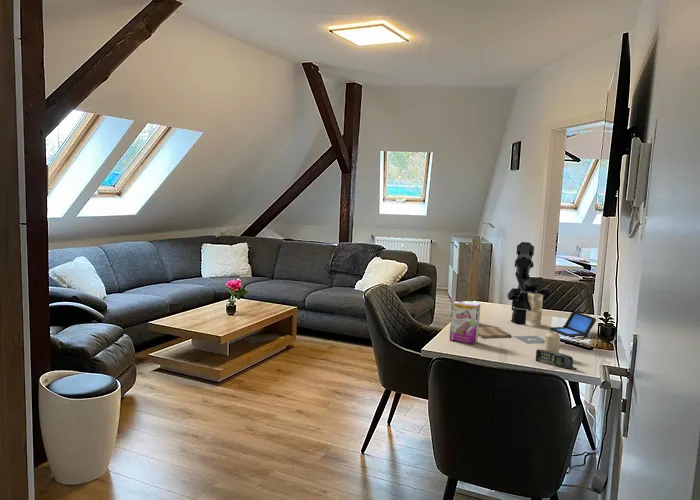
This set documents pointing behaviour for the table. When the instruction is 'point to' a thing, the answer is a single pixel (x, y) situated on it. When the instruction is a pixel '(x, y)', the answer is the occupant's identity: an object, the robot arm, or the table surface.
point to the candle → (552, 341)
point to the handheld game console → (576, 325)
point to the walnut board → (492, 332)
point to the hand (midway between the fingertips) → (535, 310)
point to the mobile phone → (554, 359)
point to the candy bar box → (464, 322)
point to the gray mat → (530, 339)
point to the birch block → (534, 310)
